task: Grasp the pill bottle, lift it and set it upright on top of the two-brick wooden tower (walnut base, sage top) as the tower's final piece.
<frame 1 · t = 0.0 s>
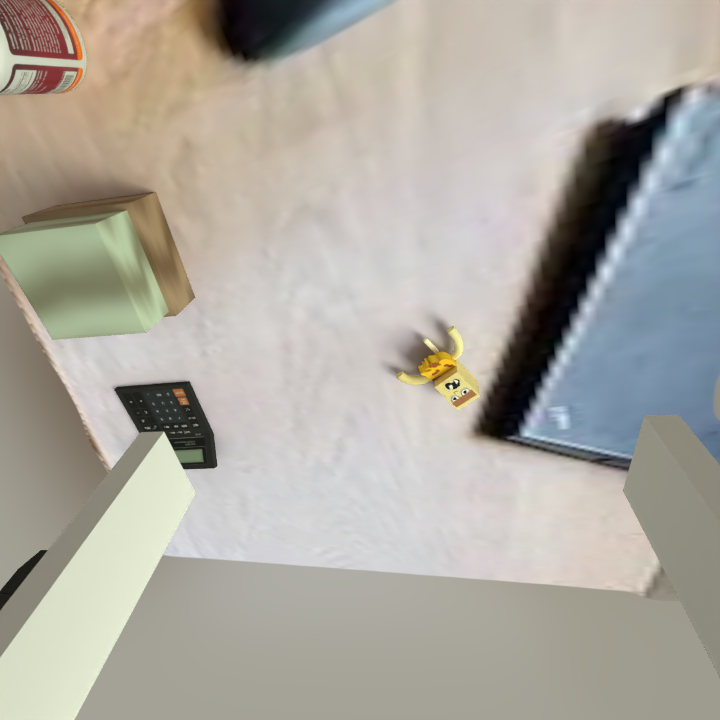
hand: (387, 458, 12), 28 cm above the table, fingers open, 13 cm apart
calculator: (174, 419, 52), on the table
tower: (128, 253, 40), on the table
character toy: (446, 349, 43), on the table
pill bottle: (51, 45, 32), on the table
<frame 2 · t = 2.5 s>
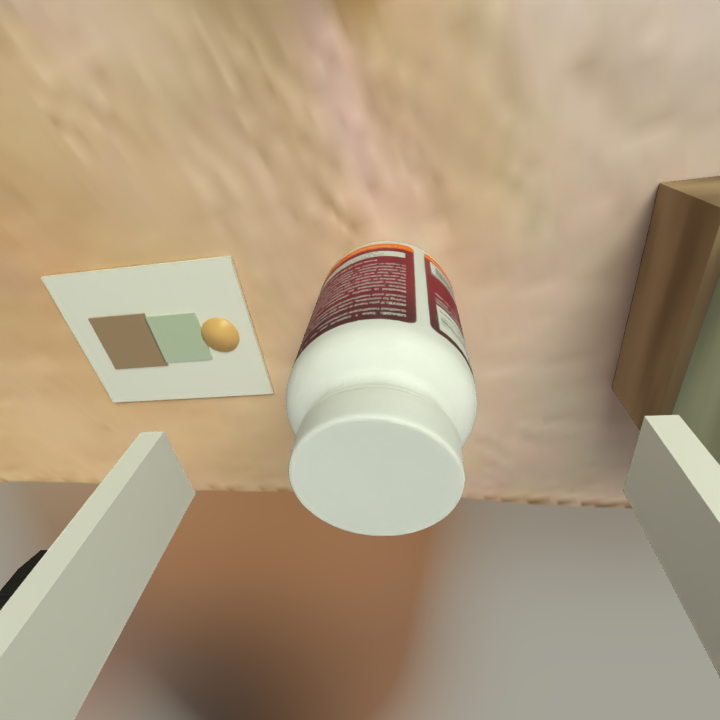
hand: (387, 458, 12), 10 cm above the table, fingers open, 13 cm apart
pill bottle: (387, 299, 20), on the table
instruction page: (165, 337, 22), on the table
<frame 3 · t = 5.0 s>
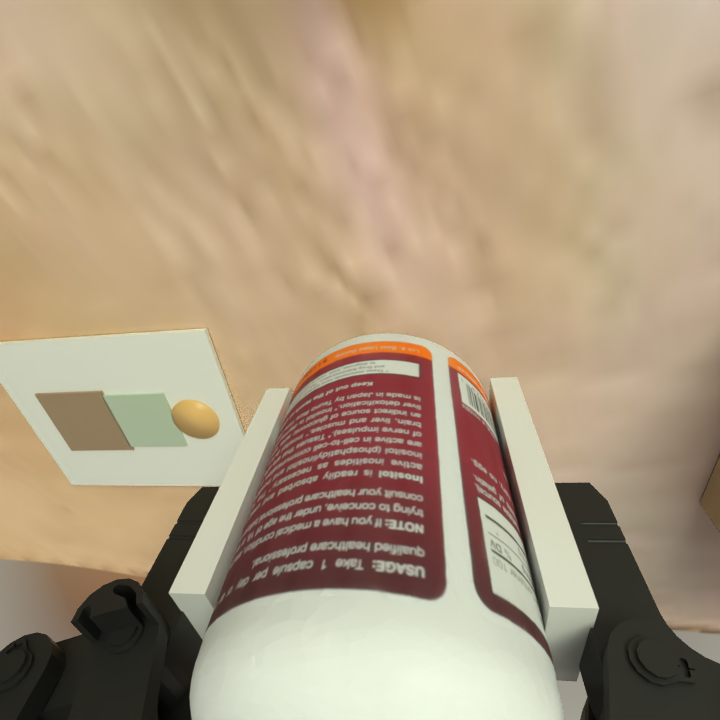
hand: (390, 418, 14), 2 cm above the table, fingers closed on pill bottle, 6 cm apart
pill bottle: (390, 404, 14), point 2 cm above the table, touching gripper
instruction page: (130, 417, 18), on the table
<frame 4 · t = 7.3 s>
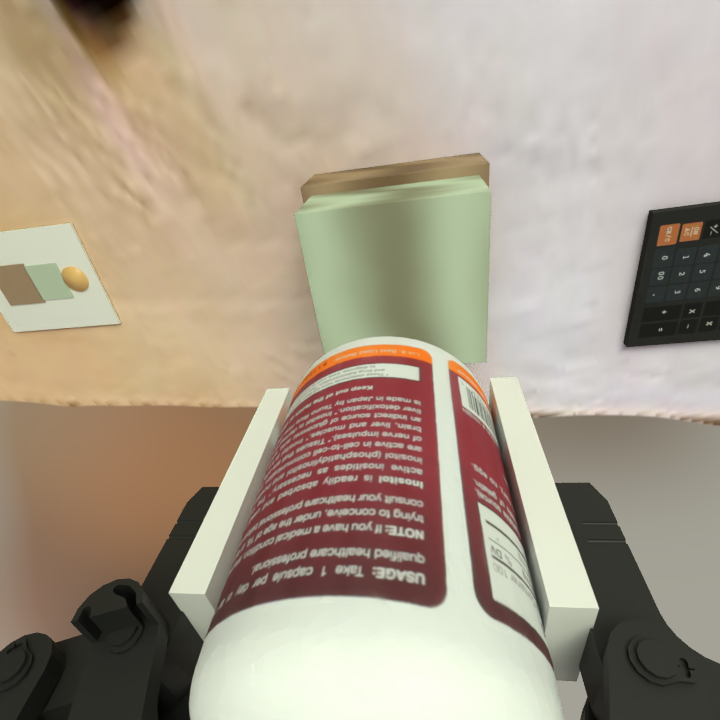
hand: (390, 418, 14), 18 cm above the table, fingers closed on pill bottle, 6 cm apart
tower: (401, 244, 28), on the table
pill bottle: (390, 407, 14), point 17 cm above the table, touching gripper
instruction page: (41, 281, 33), on the table
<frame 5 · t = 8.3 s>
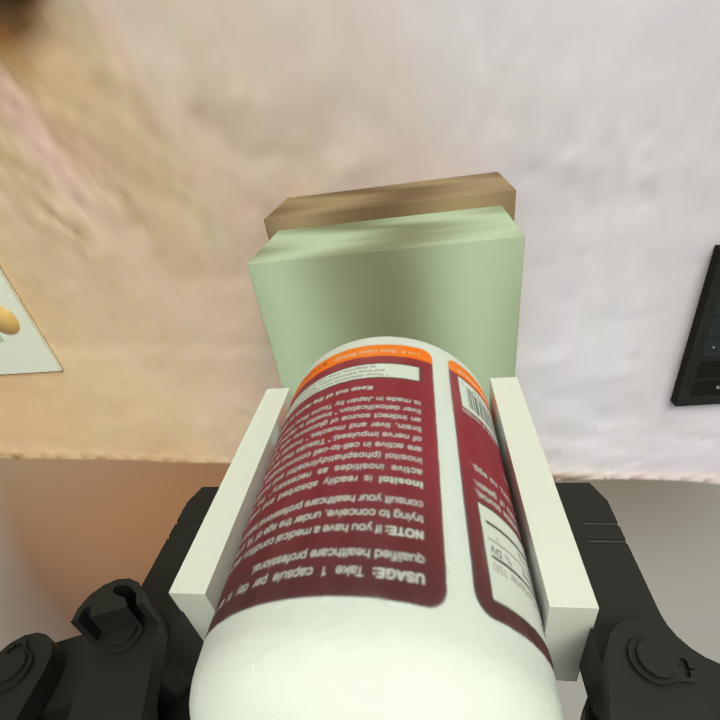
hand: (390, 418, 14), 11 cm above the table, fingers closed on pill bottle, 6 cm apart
tower: (397, 284, 23), on the table
pill bottle: (391, 407, 14), point 10 cm above the table, touching gripper
when the fingers open (9 cm above the table, at t = 9.4 s): pill bottle drops 1 cm, resting on tower.
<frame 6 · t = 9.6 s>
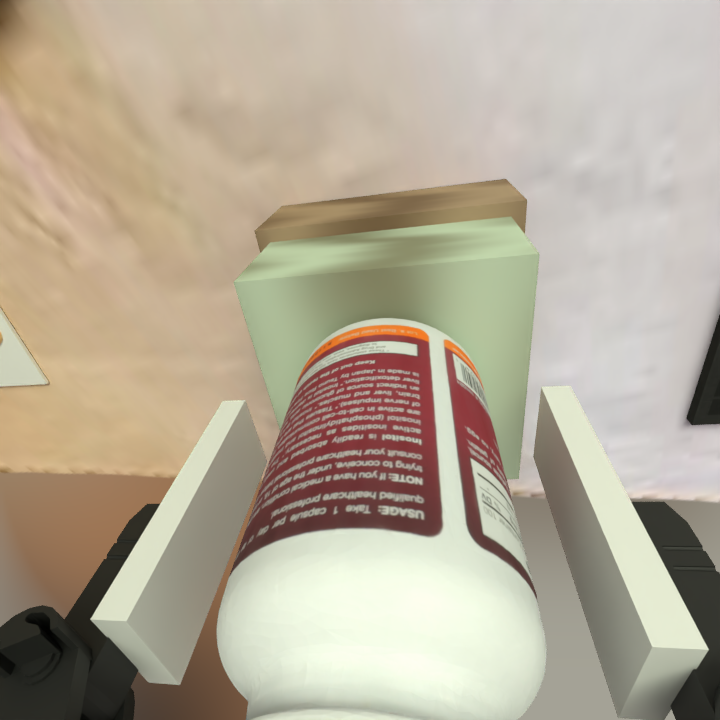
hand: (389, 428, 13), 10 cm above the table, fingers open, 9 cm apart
tower: (398, 296, 21), on the table
pill bottle: (390, 386, 15), point 8 cm above the table, touching tower
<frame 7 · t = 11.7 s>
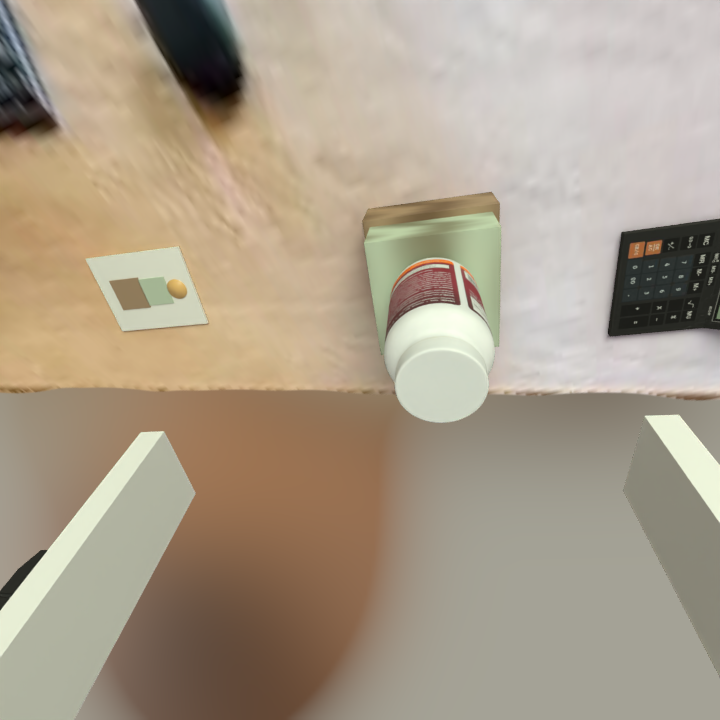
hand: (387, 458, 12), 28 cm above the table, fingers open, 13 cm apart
calculator: (687, 275, 36), on the table
tower: (432, 259, 37), on the table
pill bottle: (434, 295, 30), point 8 cm above the table, touching tower
instruction page: (149, 291, 42), on the table
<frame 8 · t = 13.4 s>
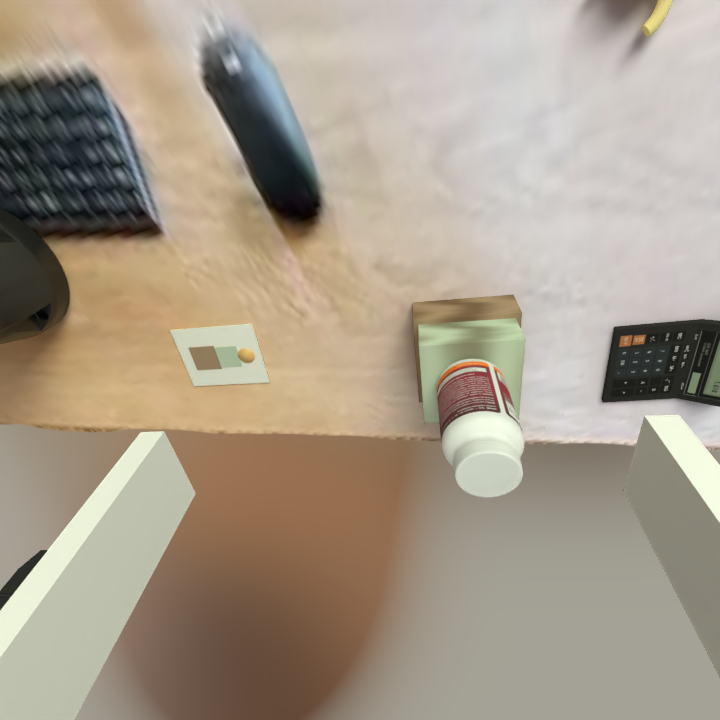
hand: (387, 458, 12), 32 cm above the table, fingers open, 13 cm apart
calculator: (665, 358, 45), on the table
tower: (462, 341, 46), on the table
pill bottle: (470, 382, 39), point 8 cm above the table, touching tower
instruction page: (221, 356, 50), on the table
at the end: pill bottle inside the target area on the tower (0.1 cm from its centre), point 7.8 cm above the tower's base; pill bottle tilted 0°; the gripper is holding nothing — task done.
